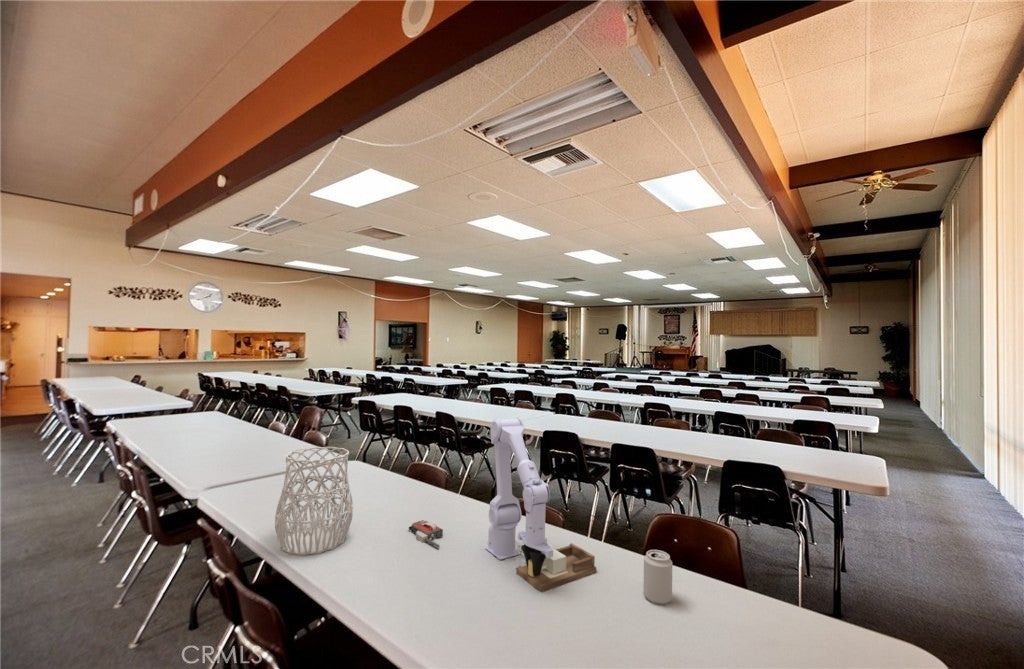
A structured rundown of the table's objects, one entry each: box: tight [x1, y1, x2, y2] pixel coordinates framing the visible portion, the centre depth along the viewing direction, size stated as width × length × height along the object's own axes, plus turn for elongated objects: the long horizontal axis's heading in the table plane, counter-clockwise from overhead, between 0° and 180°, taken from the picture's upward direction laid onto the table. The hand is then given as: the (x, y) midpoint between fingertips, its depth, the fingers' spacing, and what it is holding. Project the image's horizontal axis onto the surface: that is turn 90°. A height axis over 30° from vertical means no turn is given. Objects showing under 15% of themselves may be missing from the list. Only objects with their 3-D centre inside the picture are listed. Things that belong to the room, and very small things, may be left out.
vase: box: [274, 446, 354, 556], centre depth 149 cm, size 24×24×30 cm
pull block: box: [528, 548, 566, 577], centre depth 129 cm, size 6×11×4 cm, turn 124°
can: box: [642, 549, 673, 605], centre depth 120 cm, size 8×8×12 cm
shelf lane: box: [515, 542, 597, 593], centre depth 132 cm, size 12×22×4 cm, turn 124°
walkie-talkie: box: [408, 519, 444, 548], centre depth 154 cm, size 9×4×20 cm
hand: (534, 572), depth 127 cm, fingers closed on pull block, 2 cm apart
